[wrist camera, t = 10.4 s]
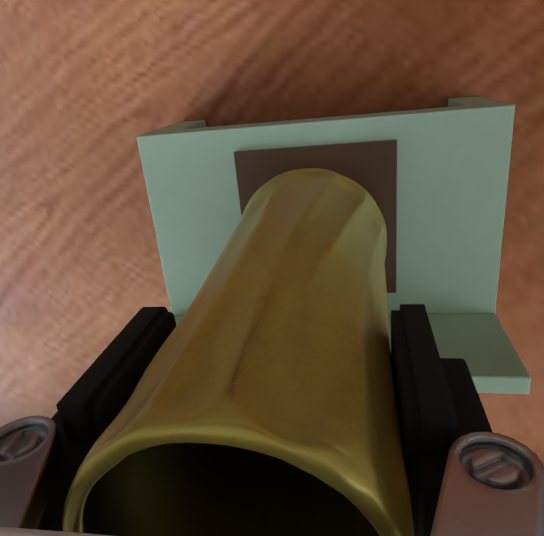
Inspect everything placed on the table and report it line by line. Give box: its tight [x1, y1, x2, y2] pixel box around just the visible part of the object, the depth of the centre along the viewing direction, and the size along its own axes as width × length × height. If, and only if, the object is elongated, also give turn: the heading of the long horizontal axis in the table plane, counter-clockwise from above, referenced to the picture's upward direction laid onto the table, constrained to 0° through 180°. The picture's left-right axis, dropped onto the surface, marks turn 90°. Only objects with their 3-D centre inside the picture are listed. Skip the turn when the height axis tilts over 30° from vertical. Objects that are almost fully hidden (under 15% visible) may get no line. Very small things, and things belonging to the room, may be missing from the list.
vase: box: [62, 168, 414, 536], centre depth 13 cm, size 6×6×14 cm
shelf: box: [136, 96, 531, 394], centre depth 22 cm, size 16×10×11 cm, turn 96°
